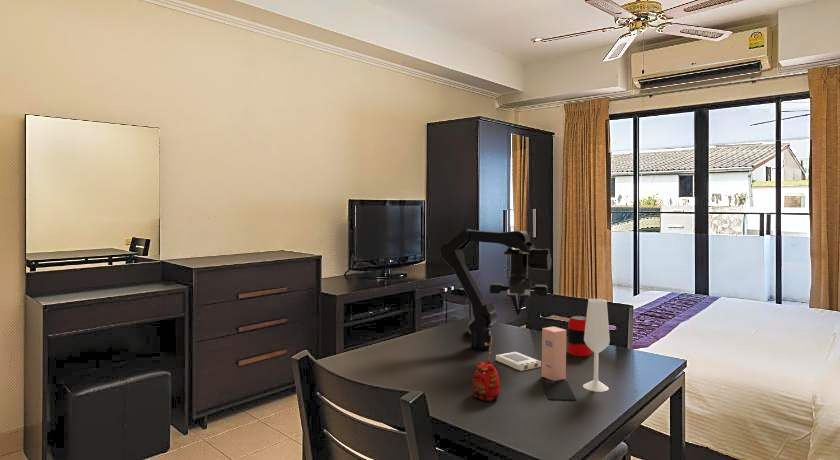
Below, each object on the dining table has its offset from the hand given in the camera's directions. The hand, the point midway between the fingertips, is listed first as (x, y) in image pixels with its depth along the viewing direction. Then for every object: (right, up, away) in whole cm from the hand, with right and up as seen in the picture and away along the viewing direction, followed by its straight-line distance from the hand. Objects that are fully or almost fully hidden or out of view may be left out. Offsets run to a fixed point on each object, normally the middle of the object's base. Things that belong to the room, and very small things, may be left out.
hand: (518, 314), depth 172 cm
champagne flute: (+15, -15, -31) cm, 38 cm away
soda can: (+21, -13, 0) cm, 24 cm away
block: (+6, -14, -24) cm, 29 cm away
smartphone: (+4, -15, -34) cm, 37 cm away
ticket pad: (-2, -14, -11) cm, 17 cm away
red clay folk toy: (-16, -15, -39) cm, 44 cm away
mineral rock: (-10, -12, +24) cm, 29 cm away
